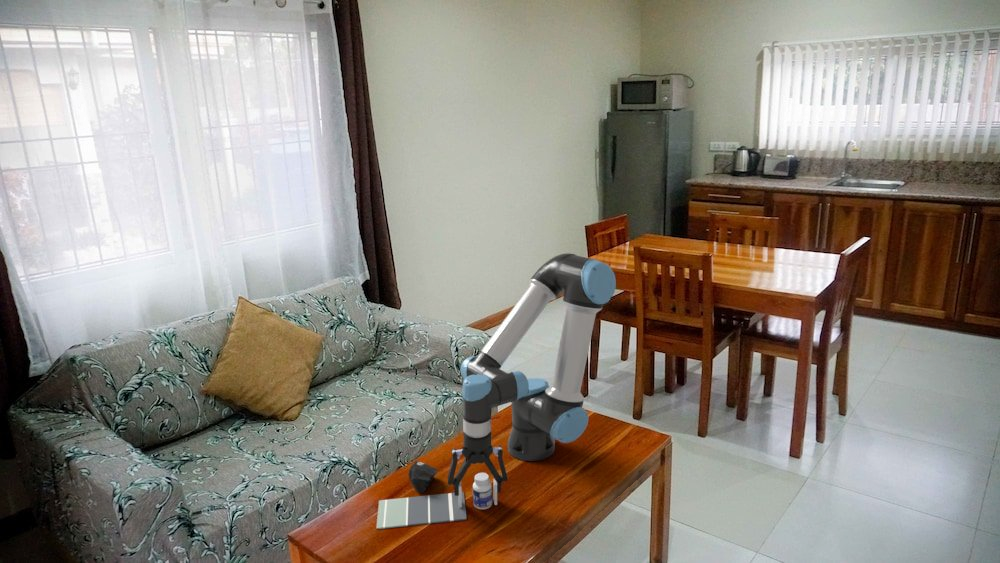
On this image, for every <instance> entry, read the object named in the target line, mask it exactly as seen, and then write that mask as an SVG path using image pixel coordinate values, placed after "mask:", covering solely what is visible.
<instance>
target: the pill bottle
mask: <svg viewBox="0 0 1000 563" xmlns="http://www.w3.org/2000/svg"><path fill="white" fill-rule="evenodd" d="M492 489H493V488H492V483H491V481H490V476H489V474H487V473H486V472H478V473H476V474H475V475H474V482H473V483H472V498H473V500H472V501H473V506H474V507H475V508H476V509H478V510H487V509H489V508H491V507H492V505H493V494H492V493H493V490H492Z"/></svg>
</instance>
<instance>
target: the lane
mask: <svg viewBox="0 0 1000 563" xmlns="http://www.w3.org/2000/svg"><path fill="white" fill-rule="evenodd" d="M377 508H378V509H377V518H376V527H375V529H376V530H382V529H391V528H401V527H411V526H418V525H419V526H420V525H428V524H429V525H430V524H438V523H439V524H440V523H447V522H457V521H465V520H467V510H466V501H465V491H462V507H460V508H459V499H458V496H455V494H454V492H450V493H440V494H438V493H437V494H430V495H429V494H428V495H421V496H420V495H419V496H410V497H401V498H400V497H398V498H391V499H390V498H389V499H381V500H378V507H377Z"/></svg>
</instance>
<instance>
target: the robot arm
mask: <svg viewBox="0 0 1000 563" xmlns="http://www.w3.org/2000/svg"><path fill="white" fill-rule="evenodd" d="M616 280H617V279H616V275H615V272H614V271H613V268H612V267H611V266H610V264H609V265H608V263H605V262H603V261H600V260H598V259H595V258H590V257H585V256H580V255H577V254H574V253H569V252H567V253H560V254H558V255H555V256H554V257H552V258H550V259H549V260H548V261H546V262H545V263H543V264H542V265H541V266H540V268H538V269H537V270H536V272H535V273H534V274H533V275H532V276H531V278H530V279H529V281H528V283H529V286H528V287H527V288H526V290H525V291H524V292H523V294H522V296H520V298H519V299H518V301H517V302H516V303H515V305H514V306H513V308H512V309H511V310H510V312H509V313H507V315H506V316H505V318H504V320H503V321H502V322H501V323H500V325H499V326H498V327H497V329H496V330H495V332H493V334H492V336H491V337H490V338H489V340H488V341H487V342H486V343H485V345H484V346H483V347H482V349H481V350H480V352H479V353H478V354H477V355H470V356H469V357H467V358H465V359H464V360H463V362H462V363H461V367H460V374H461V376H462V378H463V379H464V380H463V382H462V392H461V396H462V428H463V429H462V431H463V433H462V434H463V436H462V437H463V438H462V439H463V446H462V448H461V449H456V448H453V449H451V452H452V453H451V454H452V458H451V462H450V465H449V466H450V467H449V470H448V473H447V474H448V475H447V484H448V486H453V488H454V489H453V493H454V494H455V496H458V499H459V508H460V507H462V492H463V490H462V481H463V478H465V475H466V473H467V471H468V469H469V468H470V467H471V465H475V464H476V465H477V464H484V465H485V466H486V467H487V470H489V472H490V474H491V475H492V477H493V479H492V480H493V488H492V489H493V490H492V493H493V494H492V500H493V503H494V506H497V505H498V494H501V492H502V483H503V482H508V480H509V479H508V474H507V470H506V466H505V463H504V460H503V459H504V458H503V454H504V451H503V446H502V445H498V446H497V447H496V446H494V447H493V446H492V409H494V408H498V407H499V406H503V405H506V404H509V403H511V421H512V422H511V423H512V424H511V425H512V426H511V431H510V433H509V436H508V440H507V452H508V453H509V455H511V456H512V457H514V458H515V459H517V460H521V461H525V462H532V461H533V462H534V461H537V462H538V461H542V460H545V459H547V458H549V457H550V456H552V455H553V454H554V453H555V450H556V449H555V448H556V441H558V442H560V443H563V444H568V443H569V444H570V443H572V442H574V441H576V440H577V439H579V437H580V436H581V435H583V434H584V433H585V432H584V431H586V429H587V427H588V423H589V414H588V412H587V410H586V409H585V408H584V407H583V405H584V401H585V397H584V395H583V394H582V392H581V389H582V384H583V378H584V375H585V370H586V365H587V359H588V354H589V350H590V343H591V340H592V335H593V330H594V325H595V319H596V314H597V313H599V312H601V311H602V310H603V308H604V305H605V304H607V303H608V302H609V301H610V300H611V298H613V296H614V294H615V291H616V287H617V286H616V285H617V282H616ZM562 293H563V297H562V302H563V304H564V305H565V307H566V310H565V313H564V314H565V315H564V321H563V325H562V330H561V336H560V341H559V347H558V350H557V356H556V360H555V361H556V362H555V366H554V371H553V375H552V381H551V385H549V383H548V381H547V380H546V379H543V378H538V377H533V378H531V377H530V378H527V376H526V374H524V373H523V372H522V371H520V370H515V371H510V372H506V371H504V370H502V369H501V368H502V367H503V365H504V364H505V363H506V360H507V359H508V358H509V357H510V355H511V354H512V353H513V351H514V350H515V348H516V347H517V346H518V344H519V343H520V342H521V340H523V337H524V336H525V335H526V334H527V332H528V331H529V330H530V328H531V327H532V326H533V324H534V323H535V322H536V320H537V319H538V317H539V316H540V314H541V313H542V312H543V311H544V309H545V308H546V306H547V305H549V302H550V301H555V300H556V299H557V298H558V297H559V295H560V294H562ZM555 440H556V441H555ZM493 453H494V456H496V458H497V462H498V465H499V469H500V472H501V474H500V473H499V472H498V470H497V468H496V467H495V465H494V464H493V462H492V461H491V459H490V457H491V455H492V454H493ZM461 456H463V457H464V460H463V462H462V464H461V466H460V468H459V470H458V472H457V473H456V469H457V466H458V460H460V458H461ZM455 474H456V475H455Z"/></svg>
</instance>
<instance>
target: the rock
mask: <svg viewBox="0 0 1000 563" xmlns="http://www.w3.org/2000/svg"><path fill="white" fill-rule="evenodd" d="M437 472H438V469H437V468H436V467H433V466H431V465H429V464H427V463H424V462H420V461H414V463H413V464H412V465H411V466H410V469H409V470H408V478H409V479H410V483H411V486H412V487H413V488H414V490H415V491H416V492H418V493H419V494H422V493H425V491H426V489H427V488H428V486H429V485H430V483H431V482H432V480H433V479H434V477H435V476H436V474H437Z"/></svg>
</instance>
